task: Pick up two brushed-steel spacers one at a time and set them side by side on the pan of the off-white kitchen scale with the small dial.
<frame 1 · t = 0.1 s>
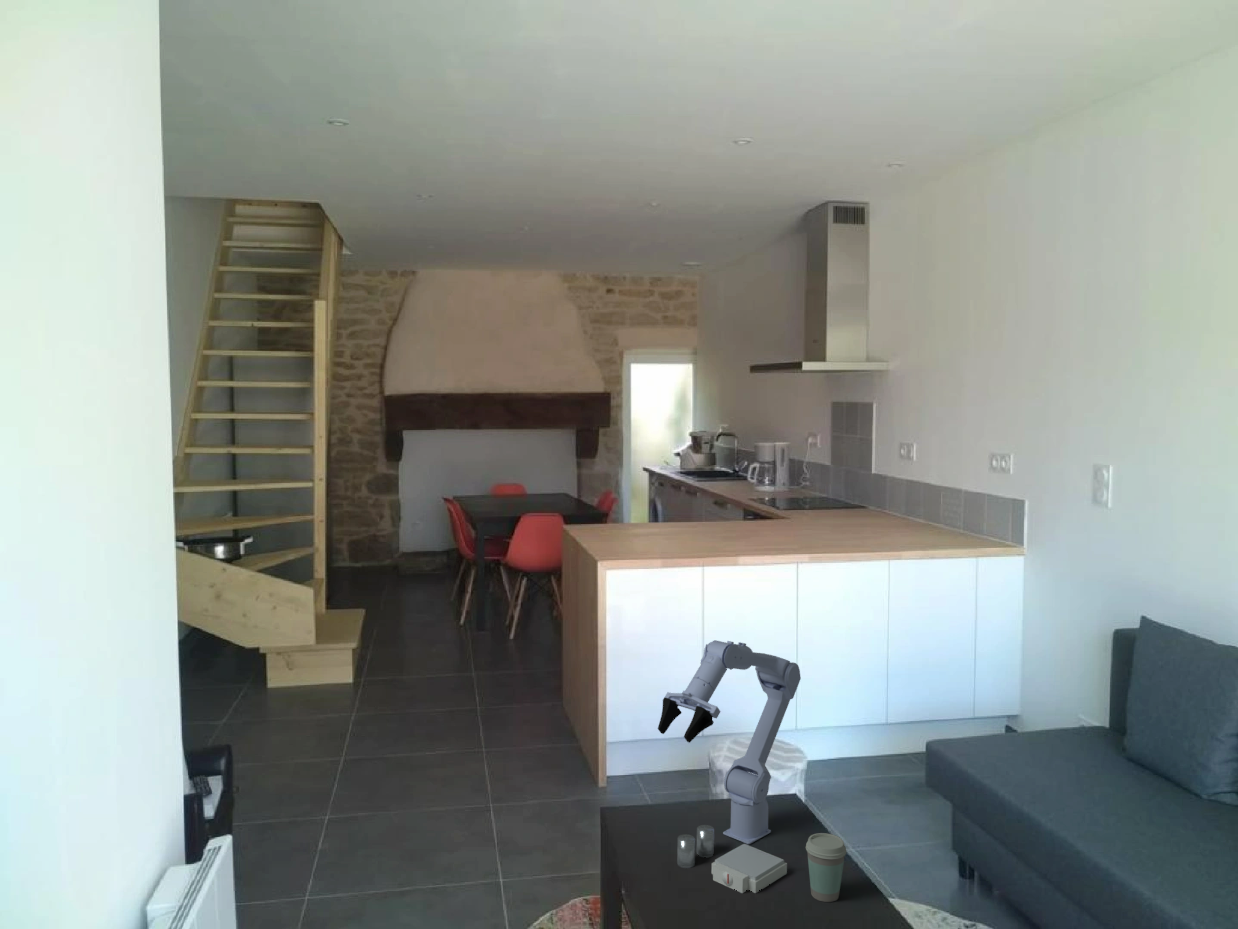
hand: (673, 735, 206), 32 cm above the table, tool tilted 50°, fingers open, 7 cm apart
spacer b: (705, 853, 218), on the table
scale: (749, 873, 209), on the table
spacer a: (686, 864, 213), on the table
coffee cup: (824, 896, 200), on the table
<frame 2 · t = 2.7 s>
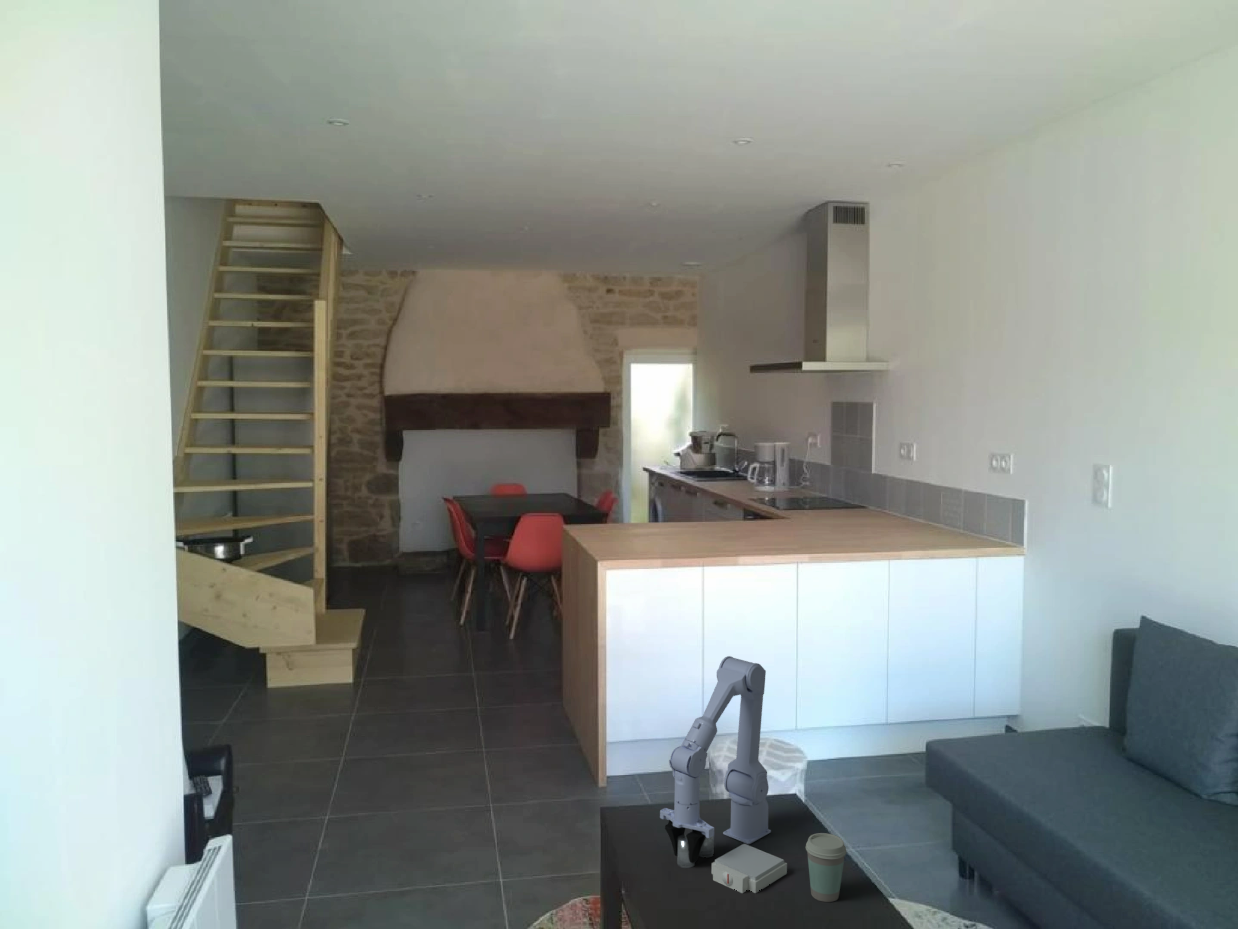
hand: (686, 857, 213), 1 cm above the table, tool pointing down, fingers closed on spacer a, 4 cm apart
spacer a: (686, 863, 213), on the table, touching gripper
everything else where it was.
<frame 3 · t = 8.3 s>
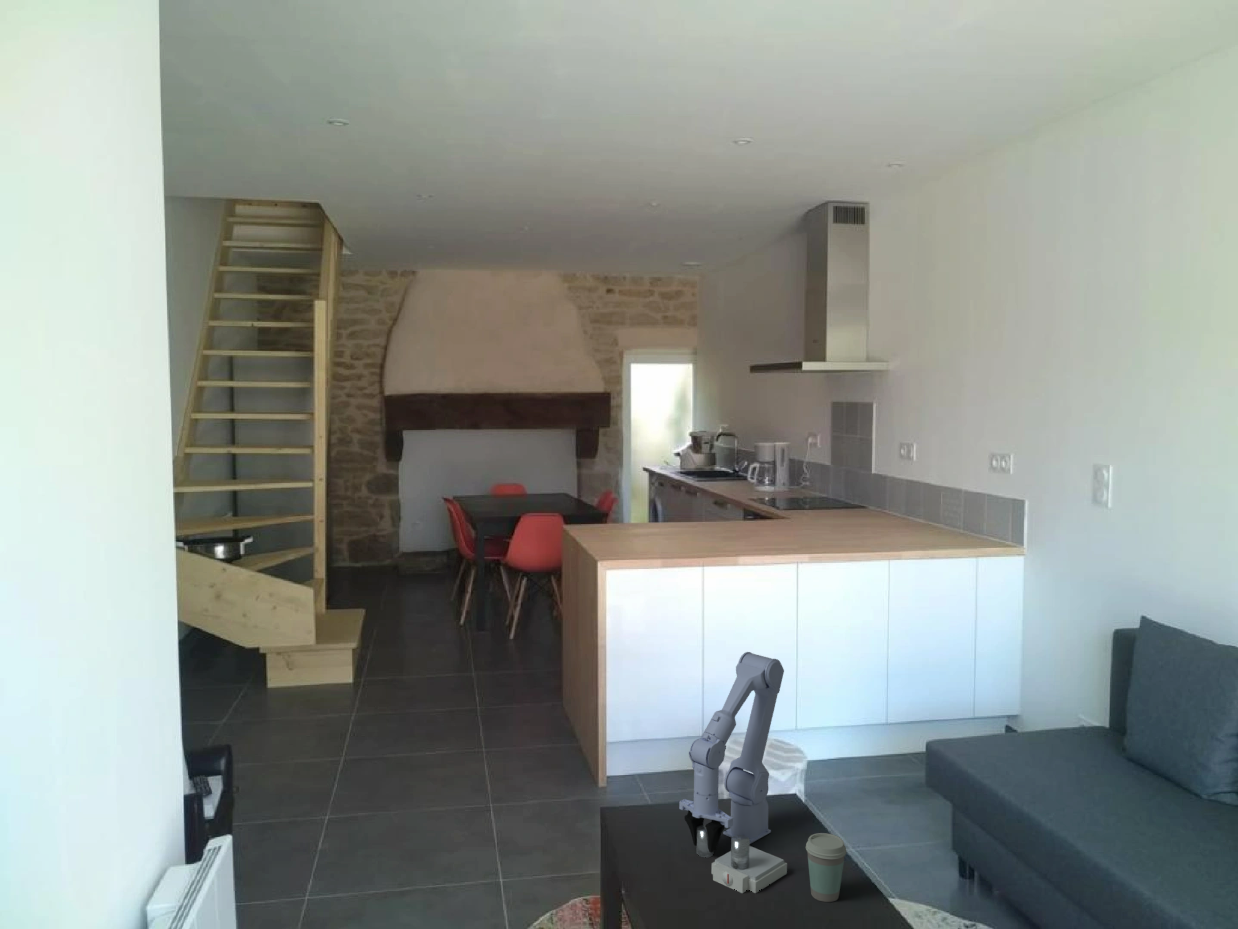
hand: (705, 847, 218), 1 cm above the table, tool pointing down, fingers closed on spacer b, 4 cm apart
spacer b: (705, 853, 218), on the table, touching gripper
spacer a: (739, 865, 206), point 3 cm above the table, touching scale
everything else where it was.
when the fingers open (6 cm above the table, at t = 10.7 s): spacer b stays where it is, resting on scale.
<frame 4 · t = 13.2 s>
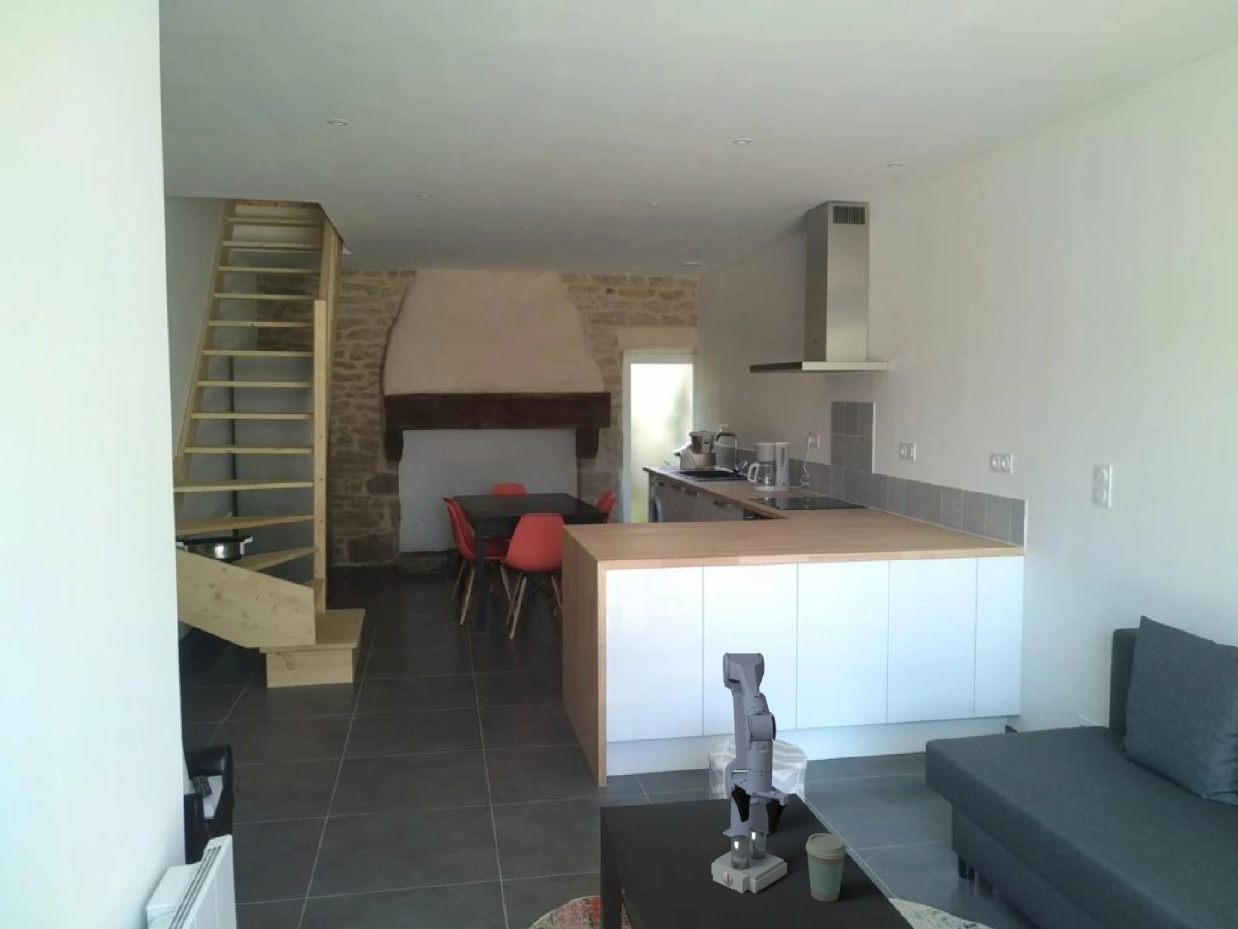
hand: (758, 826, 211), 10 cm above the table, tool pointing down, fingers open, 7 cm apart
spacer b: (756, 855, 211), point 3 cm above the table, touching scale
everything else where it was.
at the end: spacer a inside the target area on the scale (3.6 cm from its centre), point 3.2 cm above the scale's base; spacer b inside the target area on the scale (2.9 cm from its centre), point 3.2 cm above the scale's base; spacer b tilted 0° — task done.
